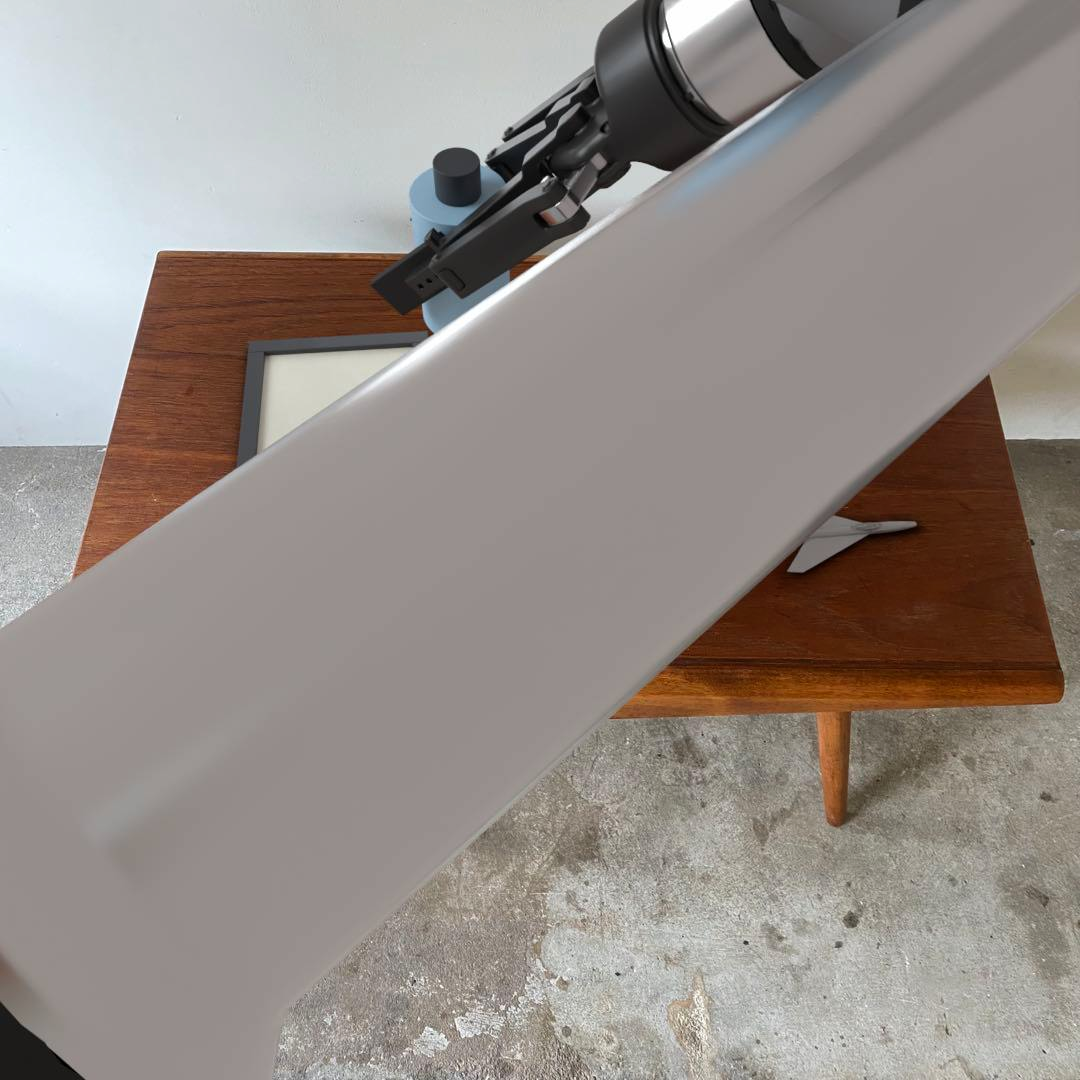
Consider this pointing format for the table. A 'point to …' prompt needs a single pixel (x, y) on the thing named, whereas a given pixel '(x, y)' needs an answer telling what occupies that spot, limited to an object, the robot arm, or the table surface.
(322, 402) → the whiteboard
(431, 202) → the cleaner bottle
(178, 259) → the table surface
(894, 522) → the toy airplane
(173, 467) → the table surface
